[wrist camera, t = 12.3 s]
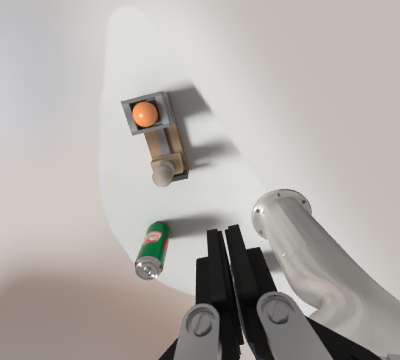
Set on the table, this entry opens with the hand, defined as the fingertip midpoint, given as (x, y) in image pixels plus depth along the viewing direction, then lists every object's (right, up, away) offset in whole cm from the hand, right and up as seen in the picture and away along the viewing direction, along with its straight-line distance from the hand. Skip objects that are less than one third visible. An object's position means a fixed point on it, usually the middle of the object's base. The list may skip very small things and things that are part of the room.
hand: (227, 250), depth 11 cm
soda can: (-11, -8, +38) cm, 40 cm away
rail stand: (-8, +12, +30) cm, 33 cm away
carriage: (-7, +7, +29) cm, 31 cm away
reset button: (-9, +14, +22) cm, 28 cm away
